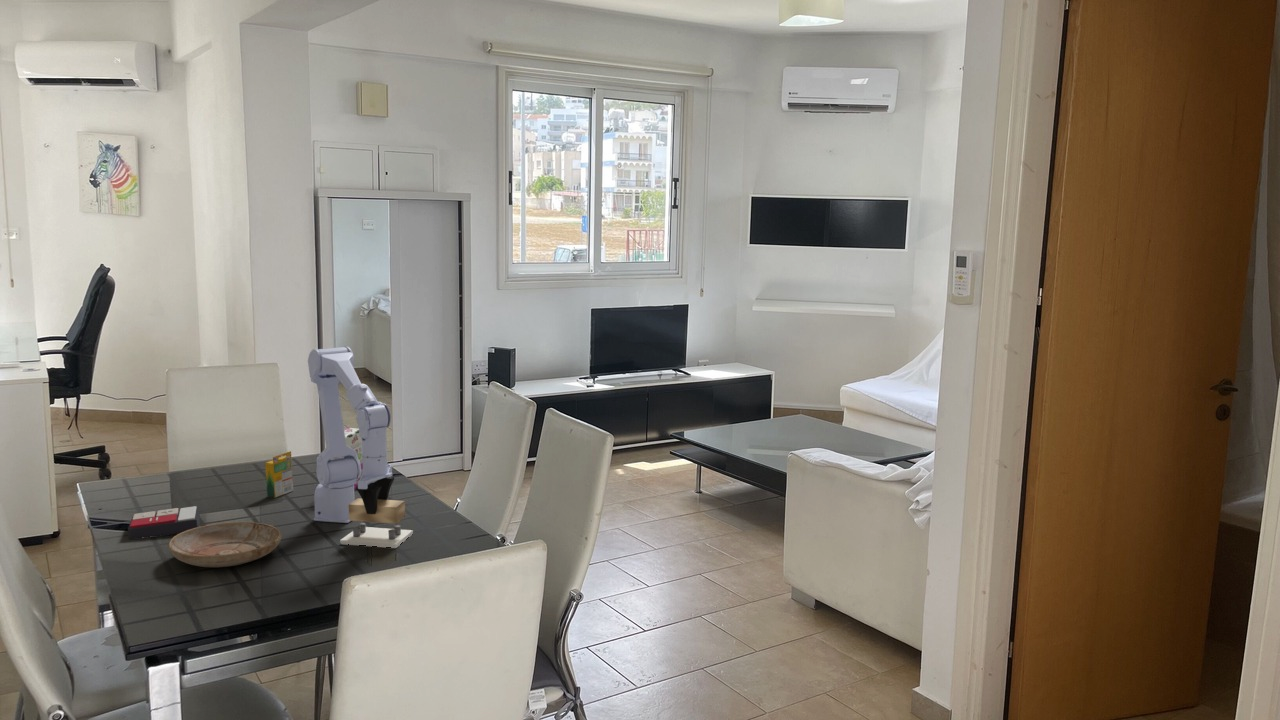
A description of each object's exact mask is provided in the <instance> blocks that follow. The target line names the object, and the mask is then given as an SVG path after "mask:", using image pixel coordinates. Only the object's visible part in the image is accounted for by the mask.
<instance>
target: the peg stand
mask: <svg viewBox="0 0 1280 720" xmlns="http://www.w3.org/2000/svg"><path fill="white" fill-rule="evenodd" d="M366 523H367V522H360V523H358V526H354V527H352V531H351V532H350V533H348V534H346V535H345V536H344V537H343V538H340V541H339V542H340V545H345V546H346V545H347V546H359V545H366V546H365V547H372V546H377V547H376V548H386V547H391V548H390V549H397V548H398V547H400V544H401V543H402V542H403V543H405V542H406V541H407V540H408V539H409V538H410V537H412V536H413V535H414V530H411V529H402V528H401V524H399V525H398V524H397V525H396V524H395V525H393V528H387V527H386V528H385V527H371V526H369V527H368V526H367V524H366ZM412 534H413V535H412ZM408 537H409V538H408ZM407 538H408V539H407ZM406 539H407V540H406ZM403 543H402V544H403ZM348 544H349V545H348ZM402 544H401V545H402Z"/></svg>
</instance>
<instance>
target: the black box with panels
mask: <svg viewBox="0 0 1280 720" xmlns="http://www.w3.org/2000/svg"><path fill="white" fill-rule="evenodd" d="M200 521H201V516H200V507H199V506H196V505H194V506H187V507H181V508H179V507H174V508H168V509H159V510H154V511H153V510H152V511H148V512H147V511H146V512H145V511H144V512H138V513H134V515H132V516H131V520H130V523H129V525H128V528H127V533H128V539H129V540H136V539H135V538H139V539H143V538H142V537H149V538H151V537H150V536H158V537H163V536H162V535H166V536H172V535H178V534H180V533H182V532H184V531H187V530H190V529H193V528H197V527H200V523H201V522H200ZM160 535H161V536H160Z"/></svg>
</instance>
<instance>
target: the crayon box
mask: <svg viewBox="0 0 1280 720" xmlns="http://www.w3.org/2000/svg"><path fill="white" fill-rule="evenodd" d="M292 466H293V465H292V450H291V451H288V452H284V453H280V454H278V455H276V456H275V455H274V456H272V460H269V461H266V462H265V480H266V481H265V482H266V496H267V497H268V498H274V499H276V498H278V497H281V496H284V495H286V494H289V493H291V492H294V481H293V467H292Z"/></svg>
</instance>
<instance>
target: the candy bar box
mask: <svg viewBox="0 0 1280 720" xmlns="http://www.w3.org/2000/svg"><path fill="white" fill-rule="evenodd" d="M344 433H345V440H346V445H347V446H348V447H350V448H352V449H353V450H355V451H356V453H357V456H358V460H359V462H360V465H361V475H362V473H363V461H362V437H360V434H359V427H348V428H346V429H344ZM342 458H346V457H344V456H342V457H336V458H331V459H330V460H336V459H342ZM361 475H360V477H359V479H358V480H356V481H357V483H356V484H354V491H355V490H357V489H356V486H357V485H358V481H359V480H360V478H361Z"/></svg>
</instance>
